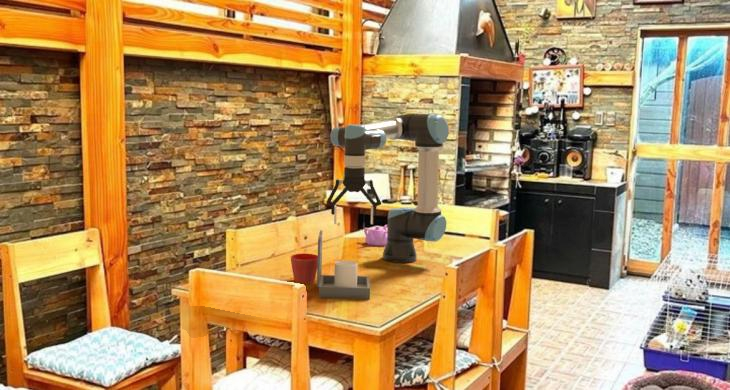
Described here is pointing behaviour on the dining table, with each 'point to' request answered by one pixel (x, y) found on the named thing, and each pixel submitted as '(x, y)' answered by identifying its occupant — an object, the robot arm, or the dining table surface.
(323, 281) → the case
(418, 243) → the dining table surface
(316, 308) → the dining table surface
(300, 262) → the flower pot
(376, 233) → the pink toy pig
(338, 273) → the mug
